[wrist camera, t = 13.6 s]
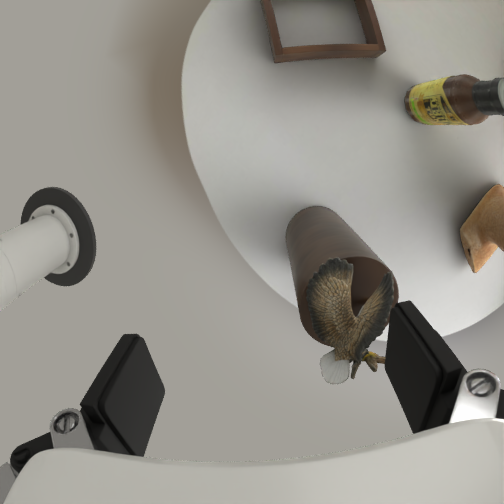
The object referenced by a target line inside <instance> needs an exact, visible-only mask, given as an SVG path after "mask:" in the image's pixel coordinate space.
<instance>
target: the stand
mask: <svg viewBox="0 0 504 504" xmlns="http://www.w3.org/2000/svg"><path fill="white" fill-rule="evenodd" d="M286 245H287V250H288V255H289V260H290V265H291V270H292V275H293V281H294V286H295V291H296V297H297V302H298V308H299V313H300V319H301V322H302V324H303V327H304V328H305V330H306V331H307V333H308V334H309V335H310V336H311V337H312V338H314V339H315V340H317V341H318V342H320V343H322V344H324V345H327V346H330V344H327V343H325V341H322V340H321V339H320V338H318V337H317V334H316V333H315V332H314V329H313V326H312V323H313V322H312V321H311V316H310V313H311V312H310V311H309V309H308V302H307V300H306V297H307V293H306V290H307V289H308V283H309V279H310V278H313V273H314V272H318V270H319V266H320V265H321V264H322V263H324V264H325V263H326V261H327V259H328V258H332V259H334V258H335V257H338V258H340V260H344V259H345V260H346V261H347V262H348V264H353V276H352V284H351V308H352V311H353V314H354V316H355V317H357V316H358V314H359V312H360V310H361V308H362V306H363V305H364V304H365V303H366V301H367V300H368V299H369V298H370V297H371V296H372V294H373V293H374V292H375V291H376V289H377V288H378V286H379V285H380V283H381V281H382V279H383V277H384V274H387V272H391V270H390V269H389V268H388V267H387V266H386V265H385V264H384V263H383V261H382V260H381V259H380V258H379V257H378V256H377V255H376V254H375V253H374V252H373V251H372V250H371V248H370V247H369V246H368V245H367V244H366V243H365V242H364V241H363V240H362V239H361V238H360V237H359V236H358V235H357V234H356V233H355V232H354V231H353V230H352V228H351V227H350V226H349V225H348V224H347V223H346V222H345V221H344V220H343V219H342V218H341V217H340V216H339V215H338V214H337V213H335V212H334V211H333V210H331V209H329V208H326V207H321V206H313V207H308V208H306V209H303V210H301V211H300V212H298V213H297V214H296V215H295V216H294V217H293V218H292V219H291V221H290V222H289V224H288V227H287V230H286ZM392 277H393V278H392V279H393V280H394V284H393V287H394V295H393V297H394V300H393V303H392V307H391V308H394V306H395V304H396V303H398V299H399V290H398V284H397V281H396V279H395V277H394V275H392ZM389 320H390V314H389V317H388V318H387V323H386V324H385V327H386V326H387V325H388V323H389Z"/></svg>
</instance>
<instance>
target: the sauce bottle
mask: <svg viewBox="0 0 504 504" xmlns="http://www.w3.org/2000/svg"><path fill="white" fill-rule="evenodd" d="M405 106H406V110H407V111H408V113H409V115H410V116H411V118H412V119H413V120H415V121H416V122H419V123H422V124H427V125H473V124H479V123H481V122H483V121H484V120H486V119H487V118H488V116H489V115H503V116H504V78H495V79H494V80H492V81H480V80H479V79H477V78H475V77H473V76H470V75H465V74H464V75H459V76H450V77H445V78H441V79H437V80H433V81H429V82H425V83H421V84H418V85H416V86H413V87H411V88H410V89H409V90H408V91H407V93H406V96H405Z"/></svg>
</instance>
